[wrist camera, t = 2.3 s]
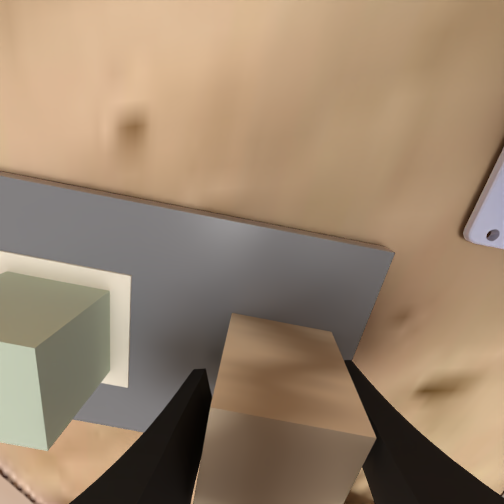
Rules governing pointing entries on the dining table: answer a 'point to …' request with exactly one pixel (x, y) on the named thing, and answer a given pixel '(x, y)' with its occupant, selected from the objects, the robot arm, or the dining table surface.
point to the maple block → (282, 419)
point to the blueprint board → (180, 282)
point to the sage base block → (48, 355)
